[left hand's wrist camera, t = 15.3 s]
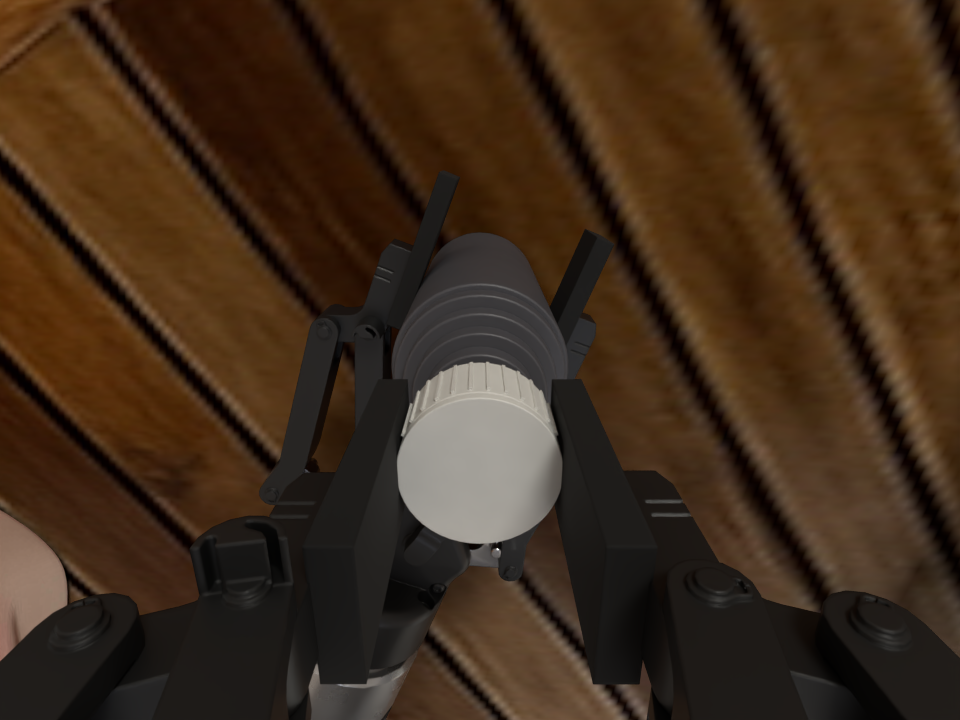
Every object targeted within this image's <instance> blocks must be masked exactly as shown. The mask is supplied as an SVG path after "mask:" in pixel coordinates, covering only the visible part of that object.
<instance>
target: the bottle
mask: <svg viewBox="0 0 960 720" xmlns="http://www.w3.org/2000/svg"><path fill="white" fill-rule="evenodd" d="M470 362H473V363H486V362H489V363H491V364H497V365H501V366H502V365H505V367H507V368H510V369H512V370H514V371H519V372H520V374H521V375H523V376H524V377H526V378H527V379H528V380H530V379H531V380H532V381H533V384H534V385H535V386H536V387H537V388H538V390H539V391H540V390H542V392H543V395H544V398H545V401H546V403H549V404H550V406H551V385H552V379H567V375H568V355H567V349H566V345H565V342H564V338H563V336H562V334H561V331H560V329H559V327H558V325H557V323H556V321H555V318H554V316H553V314H552V312H551V310H550V308H549V305H548V303H547V301H546V299H545V297H544V295H543V293H542V290H541V288H540V286H539V284H538V282H537V280H536V277H535V275H534V273H533V271H532V269H531V267H530V265H529V262H528V261H527V259H526V257H525V256H524V254H523V253H522V252H521V251H520V250H519V249H518V248H517V247H516V246H515V245H514V244H513V243H511V242H510V241H508V240H506V239H504V238H503V237H500V236H497V235H494V234H489V233H471V234H466V235H463V236H460V237H458V238H456V239H453V240H452V241H450V242H449V243H447V244H446V245H445V246H444V247H443V248H441V250H440V251H439V252H438V253H437V254H436V256H435V257H434V259H433V260H432V262H431V265H430V267H429V269H428V271H427V273H426V275H425V277H424V279H423V282H422V284H421V286H420V288H419V290H418V292H417V295H416V297H415V299H414V301H413V303H412V305H411V307H410V309H409V312H408V314H407V316H406V318H405V320H404V322H403V325H402V327H401V329H400V331H399V333H398V335H397V338H396V341H395V344H394V348H393V354H392V377H393V379H408V393H409V405H410V403H412V404H413V402H414V400H415V396H416V393H417V391H420V390H421V389H422V388H423V387H424V386H425V385H426V382H427V381H428V380H431V379H433V378H434V377H435V376H437V375H438V374H439V372H440V371H442V372H443V371H446V370H448V369H450V368H453V367H454V365H457V366H459V365H463V364H468V363H470Z"/></svg>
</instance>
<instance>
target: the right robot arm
mask: <svg viewBox="0 0 960 720" xmlns="http://www.w3.org/2000/svg"><path fill="white" fill-rule="evenodd" d="M459 179H460V177H458V176H456V175H453V174H451V173H449V172H446V171H441V172H439V174H438V177H437V180H436V183H435V186H434V189H433V191H432V194H431V197H430V200H429V203H428V206H427V209H426V211H425V214H424V217H423V220H422V223H421V226H420V229H419V231H418V234H417V237H416V240H415V243H414V246H412V245H410V244H407V243H405V242H402V241H400V240H397V239H394V240H393V241H392V242H391V243H390V244H389V245H388V246H387V248H386V249H385V250H384V251H383V252H382V254H381V257H380V260H379V263H378V266H377V269H376V272H375V275H374V278H373V281H372V284H371V287H370V290H369V293H368V296H367V299H366V302H365V304H364V305H363V306H360V307H344V306H342V305H339V304H334V305H331V306H329V307H328V308H327V309H326V310H325V311H324V312H323V313H322V314H321V315H320V316H319V317H318V318H317V319H316V320H315V321H314V322H313V323H312V325H311V327H310V330H309V334H308V339H307V343H306V348H305V352H304V356H303V361H302V365H301V369H300V374H299V378H298V383H297V387H296V391H295V396H294V400H293V405H292V409H291V413H290V418H289V422H288V427H287V431H286V435H285V440H284V444H283V449H282V453H281V457H280V460H279V461H278V463H277V464H276V466H275V467H274V469H273V470H272V472H271V473H270V475H269V476H268V478H267V479H266V481H265V482H264V484H263V485H262V487H261V488H260V491H259V495H260V497H261V499H262V500H263V501H264V502H265V503H267V504H270V505H277V502H278V500H279V498H280V497H281V495H282V493H283V492H284V490H285V488H286V487H287V486H288V485H289V484H290V483H292V482H293V481H294V480H295V479H297V478H298V477H299V476H301V475H302V474H303V473H305V472H320V469H319V467H318V465H317V464H318V463H317V460H315V459H314V458H312V456H313V454H314V452H315V450H316V448H317V446H318V444H319V441H320V438H321V434H322V430H323V426H324V423H325V419H326V415H327V411H328V407H329V403H330V399H331V395H332V391H333V387H334V383H335V379H336V375H337V371H338V367H339V363H340V359H341V355H342V351H343V347H344V343H345V342H355V429H356V427H357V425H358V423H359V421H360V419H361V416H362V414H363V412H364V410H365V408H366V405H367V403H368V401H369V399H370V397H371V394H372V392H373V390H374V388H375V386H376V384H377V381H378V379H390V378H391V327H394V328H397V329H399V330H400V329H401V327H402V325H403V322H404V320H405V318H406V316H407V314H408V312H409V309H410V307H411V305H412V303H413V301H414V299H415V297H416V295H417V292H418V290H419V288H420V286H421V284H422V281H423V278H424V275H425V272H426V270H427V267H428V264H429V261H430V259H431V256H432V253H433V250H434V248H435V245H436V242H437V239H438V237H439V234H440V231H441V228H442V226H443V223H444V220H445V217H446V215H447V212H448V209H449V206H450V204H451V201H452V198H453V195H454V193H455V190H456V187H457V184H458V182H459ZM613 246H614V244H613V243H612V242H610V241H609V240H607V239H605V238H604V237H602V236H601V235H599V234H596V233H594V232H591V231H589V230H587V229H585V230H584V233H583V235H582V237H581V239H580V242H579V244H578V246H577V248H576V250H575V253H574V255H573V257H572V259H571V261H570V264H569V266H568V268H567V270H566V273H565V275H564V277H563V279H562V281H561V284H560V286H559V288H558V290H557V293H556V295H555V297H554V299H553V301H552V304H551V306H550V310H551V312H552V314H553V316H554V318H555V321H556V323H557V325H558V327H559V329H560V331H561V334H562V336H563V338H564V342H565V345H566V349H567V355H568V375H567V379H575V377H576V374H577V372H578V370H579V368H580V366H581V364H582V362H583V360H584V358H585V355H586V354H587V352H588V350H589V347H590V346H591V344H592V342H593V340H594V338H595V333H596V323H595V322H594V320H593V319H592V318H591V316H590V315H588V314H585V313H583V312H582V311H583V309H584V307H585V305H586V303H587V301H588V299H589V297H590V295H591V292H592V290H593V288H594V286H595V284H596V282H597V280H598V278H599V276H600V273H601V271H602V269H603V267H604V265H605V263H606V261H607V259H608V257H609V254H610V252H611V250H612V248H613ZM540 522H541V521H540ZM540 522H539V523H540ZM539 523H538V524H536V525H535V526H534V527H532V528H531V529H530V530H528V531H526V532H524V533H522V534H521V535H518V536H516V537H513V538H511V539H508V540H504V541H501V542H495V543H485V544H475V543H465V542H459V541H456V540H452V539H449V538H446V537H444V536H441V535H439V534H437V533H435V532H434V531H432V530H430V529H429V528H427V527H426V526H425V525H423V524H422V523H421V522H420V521H419V520H418V519H417V518H415V516H414V515H413V514H412V513H411V512H410V510H409V509H408V507H407V506H406V504H405V507H404V512H403V517H402V521H401V526H400V531H399V535H398V540H397V545H396V549H395V554H394V559H393V563H392V568H391V573H390V577H389V582H388V587H387V591H386V596H385V601H384V605H383V610H382V615H381V619H380V624H379V629H378V633H377V638H376V643H375V647H374V652H373V657H372V661H371V666H370V671H369V675H368V680H367V684H320V679H319V671H318V664H317V663H316V666H315V669H314V672H313V675H312V678H311V681H310V684H309V693H310V700H311V708H312V713H311V720H385V719H386V717H387V715H388V713H389V711H390V709H391V707H392V705H393V703H394V701H395V699H396V697H397V694H398V692H399V690H400V688H401V686H402V684H403V682H404V680H405V678H406V676H407V674H408V672H409V670H410V668H411V666H412V664H413V662H414V660H415V658H416V656H417V652H418V648H419V647H420V645H421V644H422V642H423V640H424V638H425V636H426V634H427V631H428V629H429V627H430V625H431V623H432V621H433V619H434V617H435V614H436V612H437V610H438V608H439V606H440V604H441V602H442V599H443V597H444V595H445V593H446V591H447V588H448V586H449V585H450V583H451V582H452V581H453V580H454V579H455V578H457V577H458V576H460V575H461V574H463V573H464V572H465V571H466V570H467V568H468V567H469V566H482V567H495V568H498V571H499V575H500V577H501V578H502V579H504V580H506V581H515V580H517V579H519V578H520V577H521V575H522V572H523V565H524V558H525V551H526V545H527V543H528V542H529V540H530V538H531V537H532V535H533V533H534V532H535V530H536V528H537V527H538V525H539Z"/></svg>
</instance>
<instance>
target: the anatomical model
mask: <svg viewBox="0 0 960 720" xmlns="http://www.w3.org/2000/svg"><path fill="white" fill-rule="evenodd" d="M67 593H68V592H67V580H66V576H65V571H64V568H63V566H62V564H61V562H60V560H59V558H58V557H57V555H56V554H55V553H54V551H53V550H52V549H51V548H50V547H49V546H48V545H47V544H46V543H45V542H44V541H43V540H42V539H41V538H40V537H39V536H37V535H36V534H35V533H34V532H33V531H31V530H30V529H29V528H27V527H26V526H25V525H23V524H22V523H20V522H19V521H17V520H16V519H14V518H13V517H11V516H10V515H8V514H6V513H5V512H3V511H1V510H0V661H1V660H2V659H3V658H4V657H5V656H6V655H7V654H8V653H9V652H10V651H11V650H12V649H13V648H14V647H15V646H16V645H17V644H18V643H19V642H20V641H21V640H22V639H23V638H24V637H25V636H26V635H27V634H28V633H29V632H30V631H31V630H32V629H33V628H34V627H35V626H37V625H38V624H39V623H41V622H42V621H43V620H44V619H46V618H47V617H48V616H49V615H51V614H52V613H53V612H55V611H57V610H59V609H61V608H63V607H65V606H67Z"/></svg>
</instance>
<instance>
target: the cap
mask: <svg viewBox="0 0 960 720" xmlns="http://www.w3.org/2000/svg"><path fill="white" fill-rule="evenodd" d="M401 436H403V438H402V441H401V445H400V449H399V452H398V456H397V470H398V486H399V491H400V494H401V496H402V499H403V501H404V503H405V504H406V506H407V507H408V509H409V510H410V512H411V513H412V514H413V515H414V516H415V518H417V519H418V520H419V521H420V522H421V523H422V524H423V525H425V526H426V527H427V528H429V529H430V530H432V531H434V532H435V533H437V534H439V535H441V536H444V537H446V538H449V539H452V540H456V541H459V542H465V543H475V544H485V543H495V542H501V541H504V540H508V539H511V538H513V537H516V536H518V535H521V534H522V533H524V532H526V531H528V530H530V529H531V528H532V527H534V526H535V525H536V524H538V523H539V522H540V521H541V520H542V519H543V518H544V517H545V516H546V515H547V514H548V512H549V511H550V510H551V508H552V507H553V505H554V504H555V502H556V500H557V498H558V495H559V493H560V490H561V481H562V463H563V458H562V453H561V450H560V445H559V442H558V438H557V436H558V431H557V428H556V424H555V421H554V417H553V414H552V410H551V406H550V404H549V403H546V401H545V398H544V395H543V392H542V390H540V391H539V390H538V388H537V387H536V386H535V385H534V384H533V381H532V380H531V379H530V380H528V379H527V378H526V377H524V376H523V375H521V374H520V372H519V371H514V370H512V369H510V368H507V367H505V365H502V366H501V365H497V364H491V363H489V362H486V363H473V362H470V363H468V364H463V365H459V366H457V365H454V367H453V368H450V369H448V370H446V371H443V372H442V371H440V372H439V374H438V375H437V376H435V377H434V378H433V379H431V380H428V381H427V382H426V385H425V386H424V387H423V388H422V389H421V390H420V391H417V393H416V396H415V400H414V402H413V404H412V403H410V405H409V409H408V412H407V416H406V419H405V423H404V426H403V430H402V433H401Z"/></svg>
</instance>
